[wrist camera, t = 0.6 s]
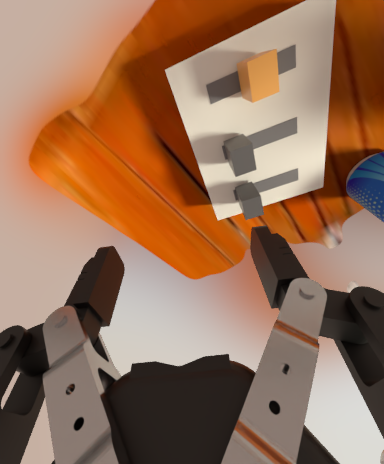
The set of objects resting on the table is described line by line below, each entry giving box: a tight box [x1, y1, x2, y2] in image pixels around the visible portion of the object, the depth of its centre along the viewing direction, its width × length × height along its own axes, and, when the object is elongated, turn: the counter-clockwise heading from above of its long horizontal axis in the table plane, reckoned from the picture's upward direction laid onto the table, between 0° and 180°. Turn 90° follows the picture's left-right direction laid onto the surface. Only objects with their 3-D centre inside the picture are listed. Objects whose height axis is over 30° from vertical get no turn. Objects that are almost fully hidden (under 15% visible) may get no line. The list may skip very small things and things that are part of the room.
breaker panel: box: [165, 0, 336, 220], centre depth 26 cm, size 16×20×5 cm
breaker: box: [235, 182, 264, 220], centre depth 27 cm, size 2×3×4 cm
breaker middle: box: [223, 134, 257, 177], centre depth 23 cm, size 2×3×4 cm
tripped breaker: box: [237, 49, 280, 103], centre depth 18 cm, size 2×3×4 cm
